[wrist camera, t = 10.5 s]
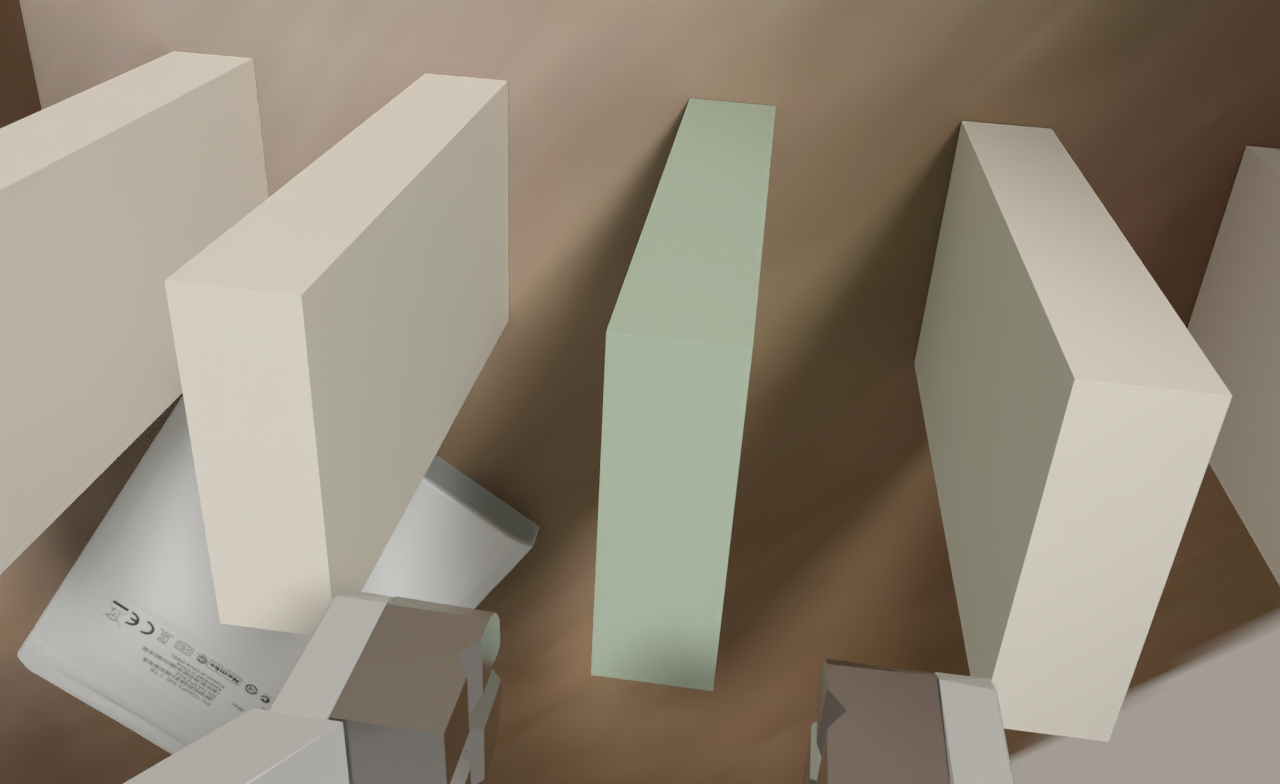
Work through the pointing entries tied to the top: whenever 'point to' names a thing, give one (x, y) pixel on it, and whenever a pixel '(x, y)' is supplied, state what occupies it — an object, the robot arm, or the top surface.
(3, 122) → the block
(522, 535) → the external hard drive
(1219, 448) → the domino
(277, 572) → the domino
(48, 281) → the domino
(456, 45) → the top surface
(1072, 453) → the domino
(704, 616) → the green domino
